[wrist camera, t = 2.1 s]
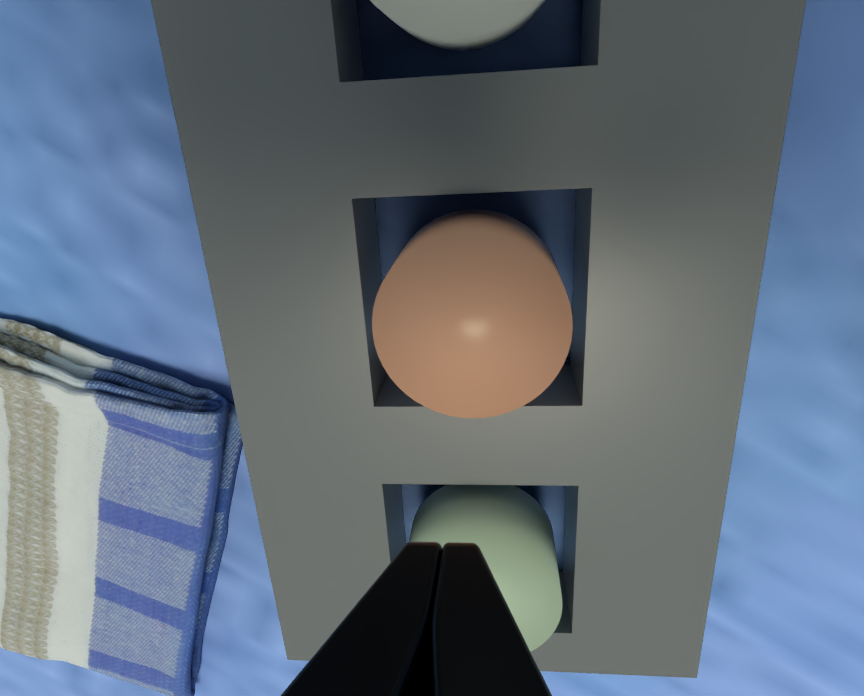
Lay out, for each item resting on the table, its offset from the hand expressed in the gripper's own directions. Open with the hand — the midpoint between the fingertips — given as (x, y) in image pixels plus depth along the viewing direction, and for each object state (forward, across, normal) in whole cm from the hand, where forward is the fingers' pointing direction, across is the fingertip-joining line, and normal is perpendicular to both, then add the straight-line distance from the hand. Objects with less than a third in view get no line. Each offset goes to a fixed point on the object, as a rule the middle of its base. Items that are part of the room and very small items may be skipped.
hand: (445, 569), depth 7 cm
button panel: (+13, 0, 0) cm, 13 cm away
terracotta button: (+11, 0, 0) cm, 11 cm away
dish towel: (+14, +22, +8) cm, 27 cm away
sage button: (+11, 0, +9) cm, 14 cm away
